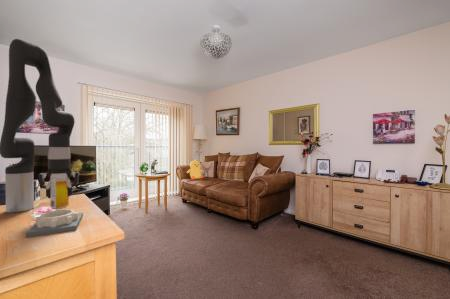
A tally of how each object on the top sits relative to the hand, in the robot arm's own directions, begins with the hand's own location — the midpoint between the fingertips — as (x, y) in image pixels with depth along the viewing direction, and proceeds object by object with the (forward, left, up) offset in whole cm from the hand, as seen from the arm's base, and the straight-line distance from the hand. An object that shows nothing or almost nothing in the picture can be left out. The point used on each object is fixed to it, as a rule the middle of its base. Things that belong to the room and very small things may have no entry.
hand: (59, 196), depth 88 cm
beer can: (0, 0, -5) cm, 5 cm away
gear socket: (+13, +2, -8) cm, 16 cm away
